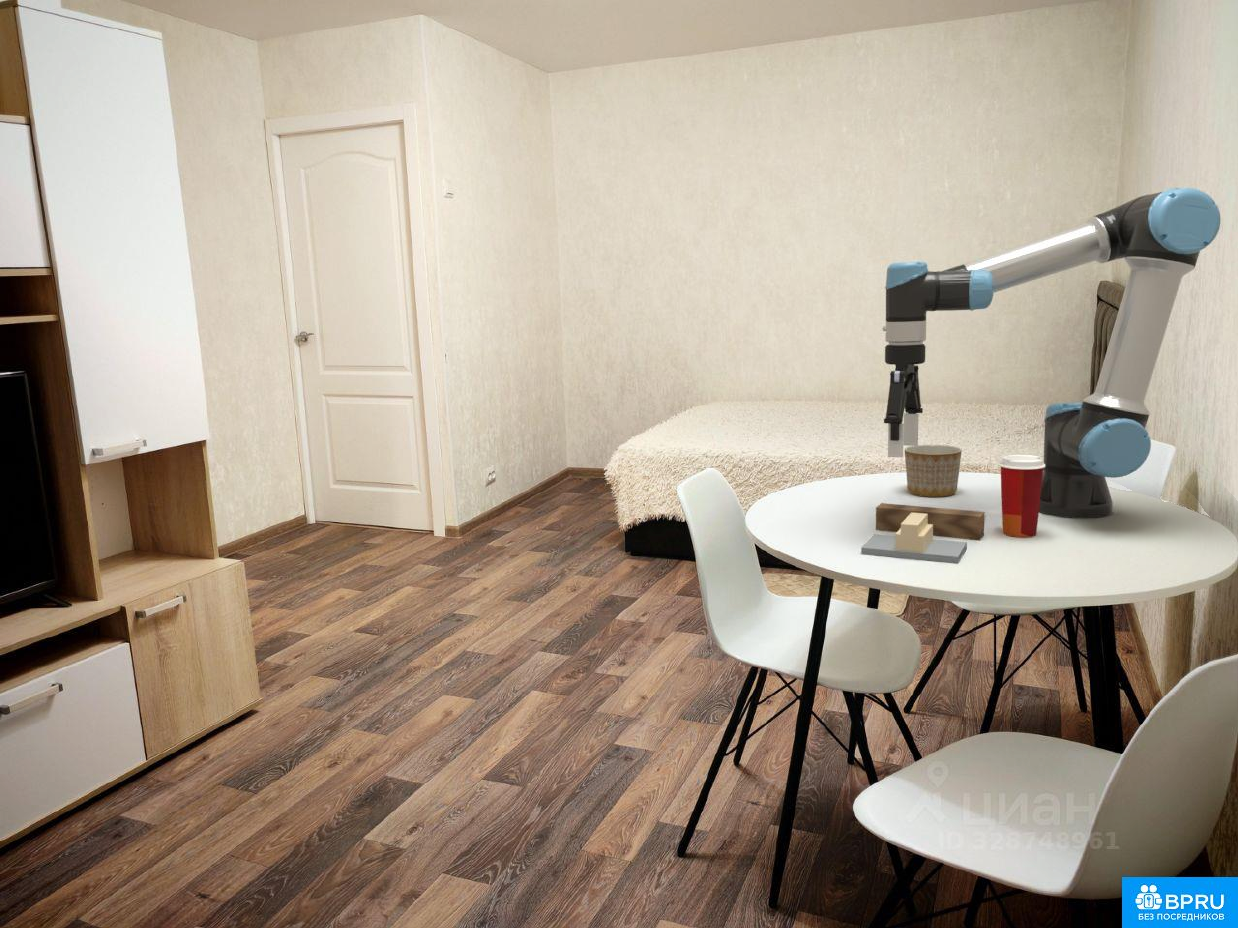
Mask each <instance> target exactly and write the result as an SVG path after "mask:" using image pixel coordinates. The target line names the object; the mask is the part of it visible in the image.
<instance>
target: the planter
mask: <svg viewBox="0 0 1238 928" xmlns="http://www.w3.org/2000/svg"><path fill="white" fill-rule="evenodd" d="M962 450H963V449H961V448H960V447H958V446H953V445H944V444H918V446H907V447H905V448H904V457H905V458H904V459H905V470H906V471H905V473H906V483H907V490H908V492H909V493H911V494H912V495H914V496H919V497H926V498H942V497H944V498H945V497H949V496H952V495H954V494H956V492H957V491H958V486H959V485H958V483H959V477H960V476H959V475H960V467H961V458H962V453H963V452H962Z"/></svg>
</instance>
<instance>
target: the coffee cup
mask: <svg viewBox="0 0 1238 928" xmlns="http://www.w3.org/2000/svg"><path fill="white" fill-rule="evenodd" d="M999 461H1000V462H999V463H998V464H997V466H999V467H1000V482H1001V483H1000V492H1001V493H1000V494H1001V523H1002V524H1001V525H1002V533H1003V534H1004V535H1006V536H1009V537H1013V538H1032V537H1035V536H1036V535H1037V529H1038V523H1039V513H1040V512H1039V505H1040V496H1041V486H1042V477H1043V468H1044V467H1045V464H1044V459H1042V457H1041V456H1037V455H1029V454H1008V455H1003V456H1002V458H1001V459H1000V460H999Z"/></svg>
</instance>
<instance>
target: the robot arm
mask: <svg viewBox="0 0 1238 928" xmlns="http://www.w3.org/2000/svg"><path fill="white" fill-rule="evenodd" d="M1221 221H1222V220H1221V213H1220V210H1219V207H1218V205H1217V204H1216V202H1215V200H1214V199H1213V198H1212V197H1211V195H1209V194H1208V193H1206V192H1204V191H1203V190H1200V189H1197V188H1190V187H1184V188H1183V187H1182V188H1179V187H1174V188H1169V189H1167V190H1164V191H1161V192H1156V193H1150V194H1146V195H1142V196H1138V197H1136V198H1134V199H1131V200H1129V201H1126V202H1124V203H1123V204H1121V205H1118V206H1115V208H1111V209H1109V210H1107V211H1104V212H1101V213H1099V214H1096V215H1092V216H1090V217H1088V219H1086V222H1085V224H1082V225H1078V226H1076V227H1073V228H1070V229H1067V230H1063V231H1061V232H1057V233H1054V234H1050V235H1048V236H1045V237H1042V238H1039V239H1036V240H1033V241H1030V242H1026V243H1023V244H1021V245H1017V246H1014V247H1012V248H1008V249H1005V250H1002V251H999V252H997V253H992V254H990V255H988V256H984V257H981V258H978V259H977V258H976V259H975V260H972V261H968V262H966V263H963V264H960V265H957V266H953V267H951V268H947V269H944V270H941V271H939V270H937V271H929V268H928V264H927V262H926V261H908V262H907V261H906V262H905V261H904V262H903V261H902V262H893V263H891V264H889V265H888V266H887V268H886V278H885V279H886V282H885V287H884V289H885V326H882V331H883V332H885V339H884V340H885V342H887V343H888V344H886V345H885V346H884V362H885V364H887V365H893V366H895V369H894V370H891V371H890V372H889V373H890V374H889V377H890V379H889V388H888V389H889V390H888V396H887V405H886V412H885V418H883V424H888V425H887V426H888V427H887V429H888V430H887V435H888V437H887V438H888V439H887V457H888V458H904V446H907V447H910V446H918V445H919V414H923V411H924V410H923V409H924V408H923V407H922V404H921V403H922V402H921V393H920V391H921V390H920V382H919V365H920V364H924V363H925V362H926V345H925V344H924V342H925V341H926V340H927V312H936V311H937V312H939V311H940V312H945V311H949V312H951V311H970V312H971V311H972V312H973V311H975V310H984V309H988V308H989V307H990V305H991V303H992V301H993V298H994V294H995V293H997V292H1001V291H1003V290H1006V289H1010V288H1013V287H1016V286H1019V285H1023V284H1026V283H1029V282H1032V281H1035V280H1039V279H1042V278H1044V277H1049V276H1051V275H1053V274H1054V275H1055V274H1057V273H1061V272H1064V271H1067V270H1070V269H1074V268H1076V267H1078V266H1079V267H1080V266H1082V265H1086V264H1089V263H1092V262H1097V263H1099V264H1105V263H1108V262H1112V261H1116V260H1120V259H1124V261H1125V262H1126V264H1127V265H1128V267H1129V269H1130V271H1129V274H1128V278H1127V280H1126V281H1127V282H1126V284H1125V288H1124V291H1123V295H1122V299H1121V301H1120V305H1119V309H1118V313H1117V315H1116V318H1115V322H1114V325H1113V329H1112V333H1111V335H1110V339H1109V342H1108V346H1107V350H1106V353H1105V357H1104V360H1103V363H1102V366H1101V369H1100V373H1099V376H1098V380H1097V384H1096V386H1095V390H1094V392H1093V393H1092V394H1091V395H1089V396H1087V397H1085V398H1084V399H1083V401H1082V402H1060V403H1059V402H1056V403H1051V404H1049V405H1048V406H1047V407H1046V409H1045V416H1044V419H1043V421H1044V434H1043V435H1044V437H1043V438H1044V439H1043V441H1044V442H1043V463H1044V464H1045V467H1044V468H1043V477H1042V486H1041V496H1040V505H1039V513H1042V514H1046V515H1050V516H1057V517H1064V518H1077V519H1082V518H1083V519H1084V518H1086V519H1087V518H1100V517H1105V516H1109V515H1111V514H1112V513H1113V505H1114V504H1113V498H1112V495H1111V493H1110V489H1109V485H1108V483H1107V482H1108V481H1107V480H1106V479H1107V478H1113V479H1115V478H1123V477H1125V476H1128V475H1131V474H1132V473H1134V472H1136V471H1137V470H1138V469H1140V468H1141V467H1142V466H1143V464H1144V463H1145V462H1146V461H1147V459H1148V458H1149V456H1150V452H1151V447H1152V443H1151V441H1152V440H1151V436H1150V435H1149V433H1148V431H1147V429H1146V427H1147V423H1148V420H1149V416H1150V414H1151V413H1150V411H1149V409H1148V407H1146V405H1145V399H1146V396H1147V393H1148V390H1149V386H1150V384H1151V380H1152V377H1153V373H1154V369H1155V367H1156V363H1157V360H1158V357H1159V353H1160V350H1161V347H1162V344H1163V340H1164V337H1165V334H1166V331H1167V327H1168V323H1169V322H1170V318H1171V314H1172V311H1173V307H1174V305H1175V301H1176V299H1177V296H1178V292H1179V288H1180V285H1181V283H1182V279H1183V277H1184V276H1185V275H1187V274H1189V273H1190V272H1193V270H1195V269H1196V266H1197V263H1198V259H1199V256H1200V252H1201V251H1202V250H1204V249H1206V248H1207V247H1208V246H1209V245H1210V244H1212V243H1213V242H1214V240H1215V239H1216V237H1217V235H1218V234H1219V230H1220V228H1221Z"/></svg>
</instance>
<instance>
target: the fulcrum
mask: <svg viewBox="0 0 1238 928" xmlns="http://www.w3.org/2000/svg"><path fill="white" fill-rule="evenodd" d="M967 549H968V542H967V541H955V540H946V539H944V540H943V539H936V538H934V536H933V524H928V514H924V513H910V515H909V516H908V517H907V518H906V519H905V520H904V521H903V522H902V523H901V528H900V529H899V530H898V531H897V532H895V533H894V535H892V534H891V535H888V534H879V533H878V534H877V533H874V534H873V535H872V536H871V537H870V538H869V539H868V540H867V541H866V542H865V543H864V544H863V545H862V546H861V549H860V550H861V551H860V554H862V555H870V556H871V555H872V556H880V557H882V556H883V557H891V558H899V559H901V558H902V559H911V560H922V561H930V562H931V561H932V562H940V563H950V564H952V563H953V564H959V562H960V561H961V559H962V558H963V555H965V552H966V551H967Z"/></svg>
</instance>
